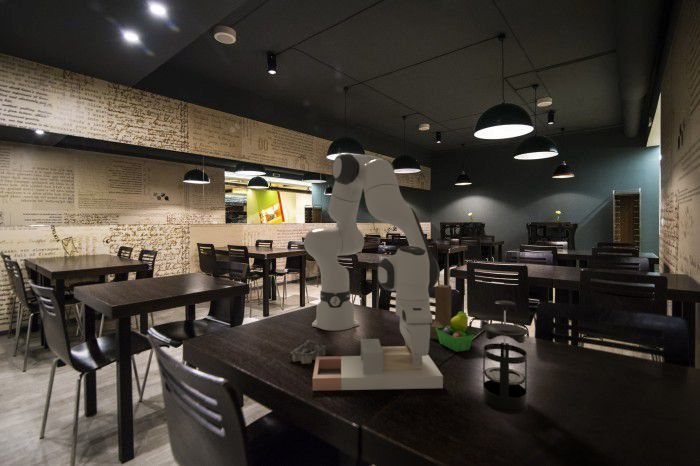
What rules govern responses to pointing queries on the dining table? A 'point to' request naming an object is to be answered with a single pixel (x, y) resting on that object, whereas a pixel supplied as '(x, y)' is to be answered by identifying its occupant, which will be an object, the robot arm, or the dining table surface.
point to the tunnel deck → (371, 372)
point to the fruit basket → (456, 334)
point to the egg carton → (303, 352)
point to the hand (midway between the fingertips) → (412, 360)
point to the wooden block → (441, 309)
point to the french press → (505, 368)
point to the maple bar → (398, 358)
